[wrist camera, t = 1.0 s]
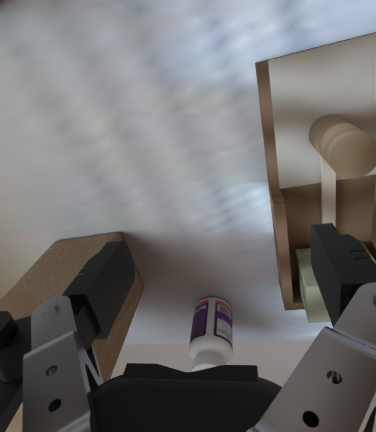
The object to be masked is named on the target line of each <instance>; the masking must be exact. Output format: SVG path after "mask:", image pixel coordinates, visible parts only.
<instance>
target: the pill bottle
mask: <svg viewBox="0 0 376 432" xmlns="http://www.w3.org/2000/svg"><path fill="white" fill-rule="evenodd" d="M232 349H233V347H232V309H231V307H230V305H229V304H228V303H227V302H226V301H224V300H223V299H220V298H216V297H208V298H204V299H202V300H200V301H199V302H198V303H197V304H196V306H195V310H194V317H193V324H192V331H191V338H190V346H189V353H190V356H191V358H192V359H193V366H192V372H194V371H198V370H203V369H207V368H211V367H216V366H220V365H226V364H228V363H229V361H230V360H231V358H232V351H233V350H232Z"/></svg>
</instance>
